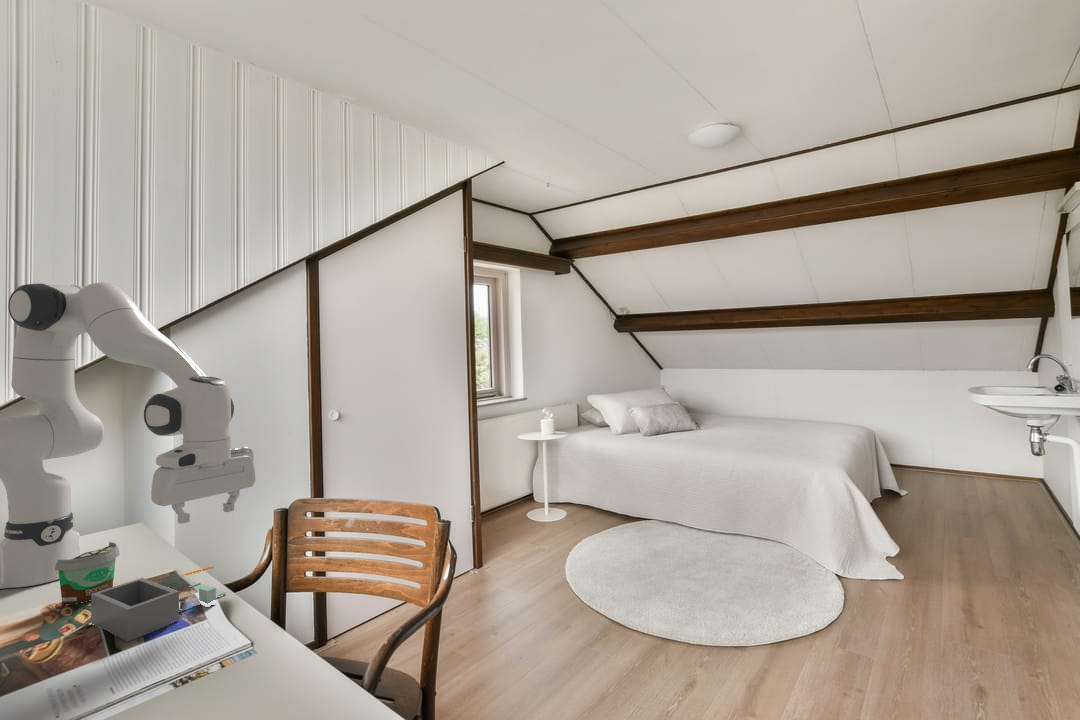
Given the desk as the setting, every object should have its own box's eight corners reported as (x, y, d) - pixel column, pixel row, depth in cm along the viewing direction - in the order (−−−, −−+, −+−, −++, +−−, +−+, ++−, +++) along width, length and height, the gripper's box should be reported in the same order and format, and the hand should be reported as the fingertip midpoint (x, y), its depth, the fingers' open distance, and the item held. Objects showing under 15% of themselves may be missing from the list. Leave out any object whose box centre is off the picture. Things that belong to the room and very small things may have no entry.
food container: (78, 610, 113) (78, 562, 113) (54, 607, 114) (54, 560, 114) (133, 586, 125) (133, 543, 125) (111, 583, 126) (111, 541, 126)
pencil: (124, 593, 122) (124, 590, 122) (212, 568, 137) (212, 565, 137) (126, 594, 122) (126, 591, 122) (213, 569, 136) (213, 566, 136)
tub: (91, 624, 107) (91, 593, 107) (142, 605, 115) (142, 577, 115) (127, 641, 101) (127, 609, 101) (179, 621, 108) (179, 591, 108)
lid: (143, 598, 119) (143, 582, 119) (188, 582, 127) (188, 567, 127) (188, 615, 111) (187, 598, 111) (233, 597, 119) (233, 581, 119)
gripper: (244, 444, 126) (244, 503, 126) (147, 458, 108) (146, 527, 108) (261, 446, 123) (261, 507, 123) (164, 461, 105) (164, 532, 105)
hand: (207, 516), depth 116 cm, fingers open, 8 cm apart
